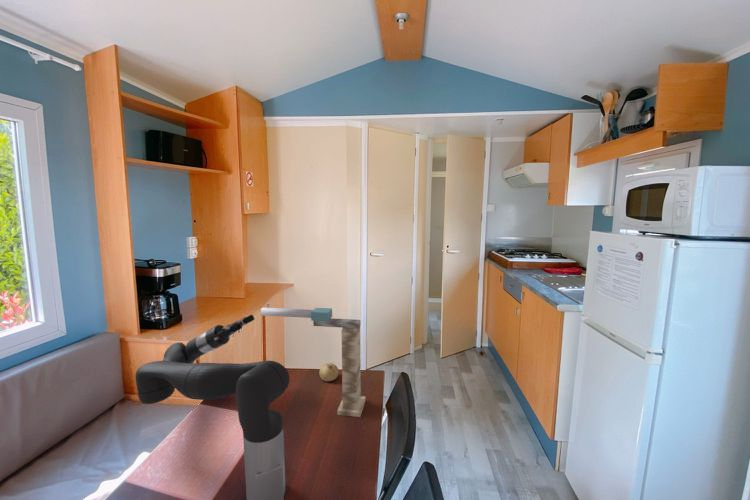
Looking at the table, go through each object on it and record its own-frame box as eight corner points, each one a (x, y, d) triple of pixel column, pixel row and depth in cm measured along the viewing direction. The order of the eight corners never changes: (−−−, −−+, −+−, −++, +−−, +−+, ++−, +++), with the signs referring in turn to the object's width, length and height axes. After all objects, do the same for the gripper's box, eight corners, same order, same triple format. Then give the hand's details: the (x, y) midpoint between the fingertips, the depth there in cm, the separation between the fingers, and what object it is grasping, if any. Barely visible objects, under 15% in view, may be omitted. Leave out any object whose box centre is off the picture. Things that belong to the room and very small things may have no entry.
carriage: (332, 316, 119) (332, 308, 118) (328, 321, 114) (328, 312, 114) (266, 313, 123) (265, 305, 122) (259, 317, 118) (259, 309, 117)
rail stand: (365, 400, 124) (365, 316, 120) (360, 417, 114) (359, 326, 110) (321, 396, 126) (319, 314, 122) (312, 412, 116) (309, 323, 112)
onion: (315, 379, 139) (315, 363, 138) (329, 372, 145) (329, 356, 144) (328, 386, 134) (328, 369, 133) (342, 378, 140) (342, 362, 139)
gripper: (194, 337, 117) (230, 318, 114) (219, 323, 131) (252, 306, 128) (205, 356, 118) (241, 337, 115) (228, 340, 132) (261, 322, 129)
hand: (247, 320), depth 121 cm, fingers open, 8 cm apart
